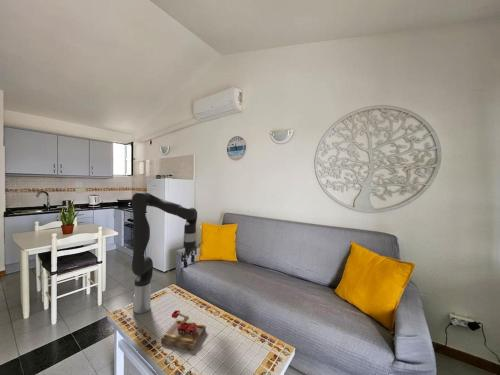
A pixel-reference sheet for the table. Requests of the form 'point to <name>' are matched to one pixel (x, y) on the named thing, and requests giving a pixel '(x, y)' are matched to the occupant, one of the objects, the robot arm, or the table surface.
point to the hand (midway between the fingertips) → (189, 264)
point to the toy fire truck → (185, 324)
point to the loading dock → (183, 336)
